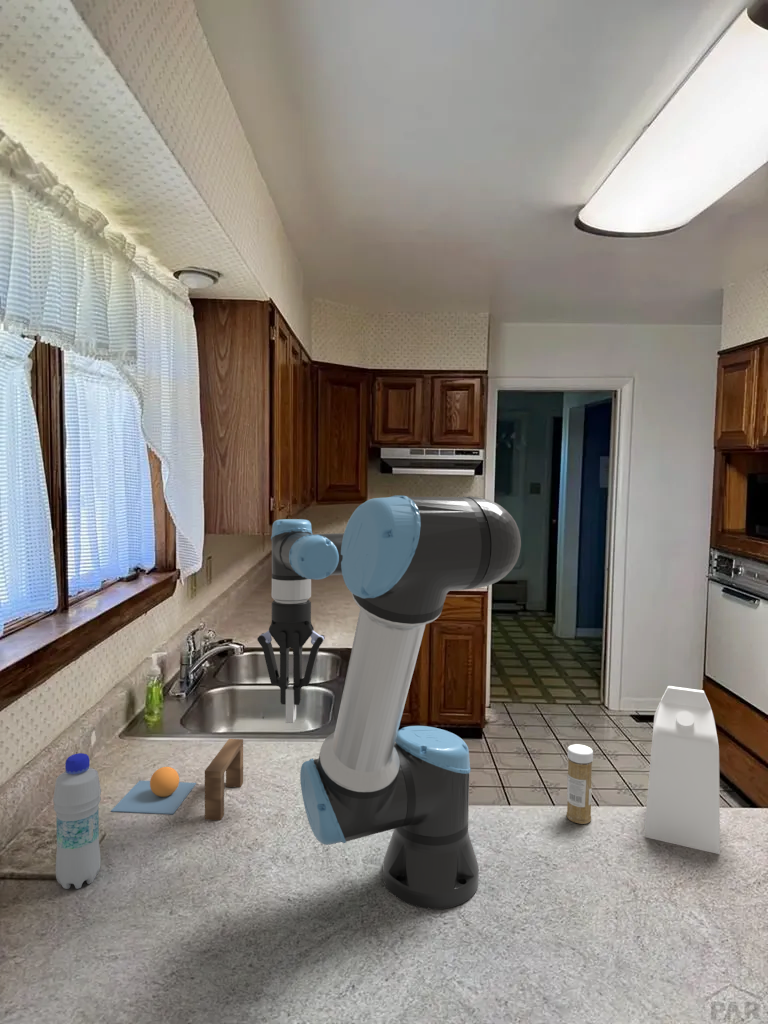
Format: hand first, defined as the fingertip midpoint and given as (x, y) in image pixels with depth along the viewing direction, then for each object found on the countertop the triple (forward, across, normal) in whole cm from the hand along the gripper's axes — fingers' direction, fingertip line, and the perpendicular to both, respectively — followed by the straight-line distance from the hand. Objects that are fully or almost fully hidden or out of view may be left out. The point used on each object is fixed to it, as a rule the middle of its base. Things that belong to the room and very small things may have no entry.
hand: (290, 720), depth 121 cm
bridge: (+16, +13, 0) cm, 21 cm away
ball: (+14, +26, -1) cm, 29 cm away
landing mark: (+16, +27, 0) cm, 32 cm away
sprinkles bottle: (+17, -55, +1) cm, 57 cm away
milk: (+17, -73, +3) cm, 75 cm away
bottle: (+17, +28, +26) cm, 42 cm away
